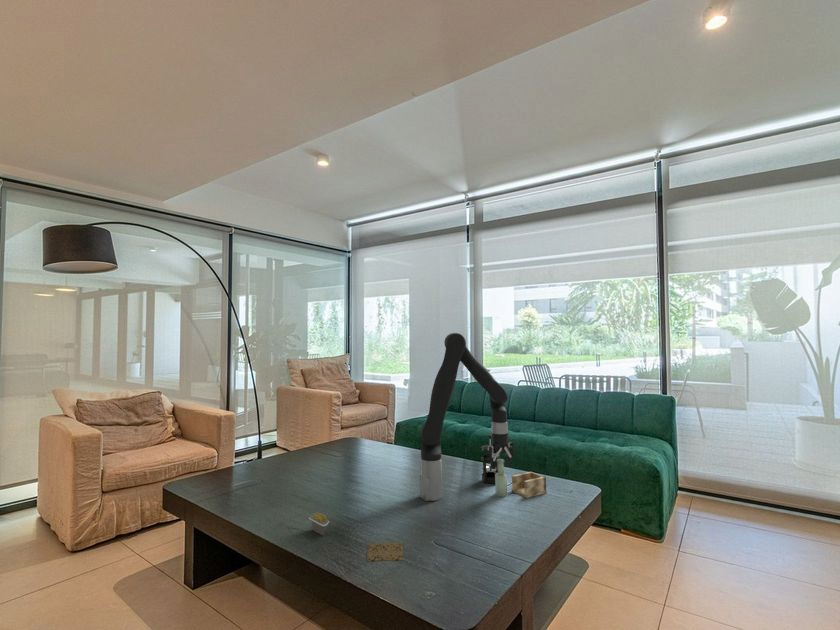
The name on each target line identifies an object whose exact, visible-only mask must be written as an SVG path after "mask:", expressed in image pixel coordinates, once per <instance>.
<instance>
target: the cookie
mask: <svg viewBox="0 0 840 630" xmlns="http://www.w3.org/2000/svg"><path fill="white" fill-rule="evenodd" d="M403 560H404V542H383V543H379V542H377V543H369V545H368V551H367V555H366V562H367V563H368V562H401V561H403Z"/></svg>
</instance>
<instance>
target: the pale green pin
mask: <svg viewBox="0 0 840 630" xmlns="http://www.w3.org/2000/svg"><path fill="white" fill-rule="evenodd" d="M497 462H498V473H496V474H495V485H494V486H495V489H494V490H495V496H497V497H502V498H503V497H504V498H505V497H507V496H508V478H507V477H508V473H505V459H504V458H500V459H497Z"/></svg>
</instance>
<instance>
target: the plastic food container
mask: <svg viewBox="0 0 840 630" xmlns="http://www.w3.org/2000/svg"><path fill="white" fill-rule="evenodd" d="M308 520H310V521H311V522H312V523H311V524H312V525H311V526H312V527H311V529H312V531H314V532H315V533H318V534H319V535H321V536H323V537H325V527H326V526H327V525H328V524H329V523H330V520H329V519H328V518H327V516H326V515H324V514H322V513H320V512H315V513H313V515H310V516H308Z"/></svg>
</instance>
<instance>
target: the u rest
mask: <svg viewBox="0 0 840 630" xmlns="http://www.w3.org/2000/svg"><path fill="white" fill-rule="evenodd" d="M511 492H514V493H516V494H517V495H520V496H522V497H524V498H526V499H528V498H532V497H537V496H540V495H543V494H548V490H547V478H546V476H544V475H541V474H539V473H536V472H533V471H528V472H523V473H520V474H514V475H511Z"/></svg>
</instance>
